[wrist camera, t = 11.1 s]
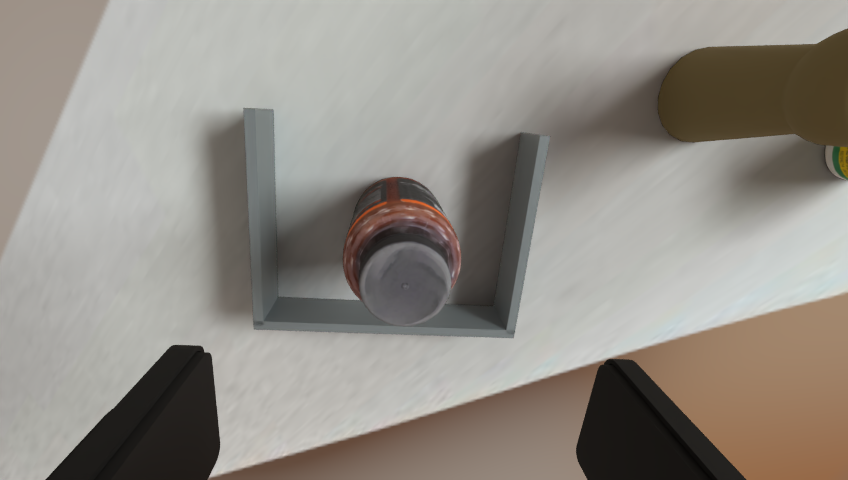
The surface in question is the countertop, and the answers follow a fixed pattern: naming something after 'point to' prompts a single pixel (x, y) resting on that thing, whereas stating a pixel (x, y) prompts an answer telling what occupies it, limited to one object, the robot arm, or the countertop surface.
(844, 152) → the supplement bottle
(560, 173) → the countertop surface
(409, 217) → the supplement bottle
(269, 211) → the fence
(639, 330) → the countertop surface
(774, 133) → the cork
